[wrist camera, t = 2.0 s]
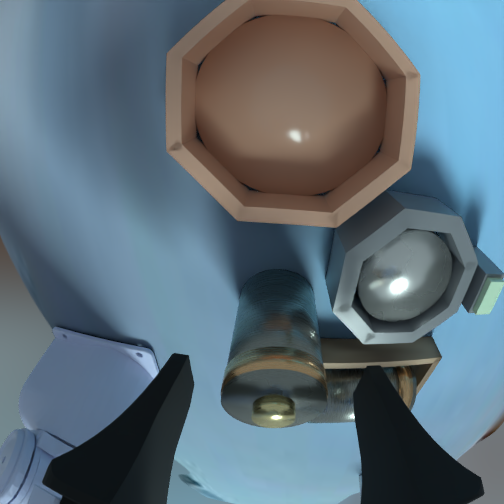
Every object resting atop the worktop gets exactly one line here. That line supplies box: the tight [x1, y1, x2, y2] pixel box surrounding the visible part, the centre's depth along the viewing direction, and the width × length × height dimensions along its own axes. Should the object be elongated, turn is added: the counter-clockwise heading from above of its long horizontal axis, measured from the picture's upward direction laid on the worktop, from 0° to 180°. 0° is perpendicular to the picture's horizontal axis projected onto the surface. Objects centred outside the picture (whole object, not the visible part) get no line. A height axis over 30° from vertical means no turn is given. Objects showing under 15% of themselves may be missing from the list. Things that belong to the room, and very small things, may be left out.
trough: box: [320, 336, 442, 395], centre depth 17 cm, size 10×6×2 cm, turn 88°
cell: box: [221, 269, 328, 428], centre depth 12 cm, size 4×4×7 cm
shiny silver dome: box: [356, 228, 452, 322], centre depth 12 cm, size 5×5×1 cm
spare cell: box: [308, 365, 417, 423], centre depth 16 cm, size 7×4×4 cm, turn 88°
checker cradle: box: [326, 190, 504, 344], centre depth 12 cm, size 9×7×3 cm
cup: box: [166, 0, 420, 228], centre depth 10 cm, size 9×9×2 cm
